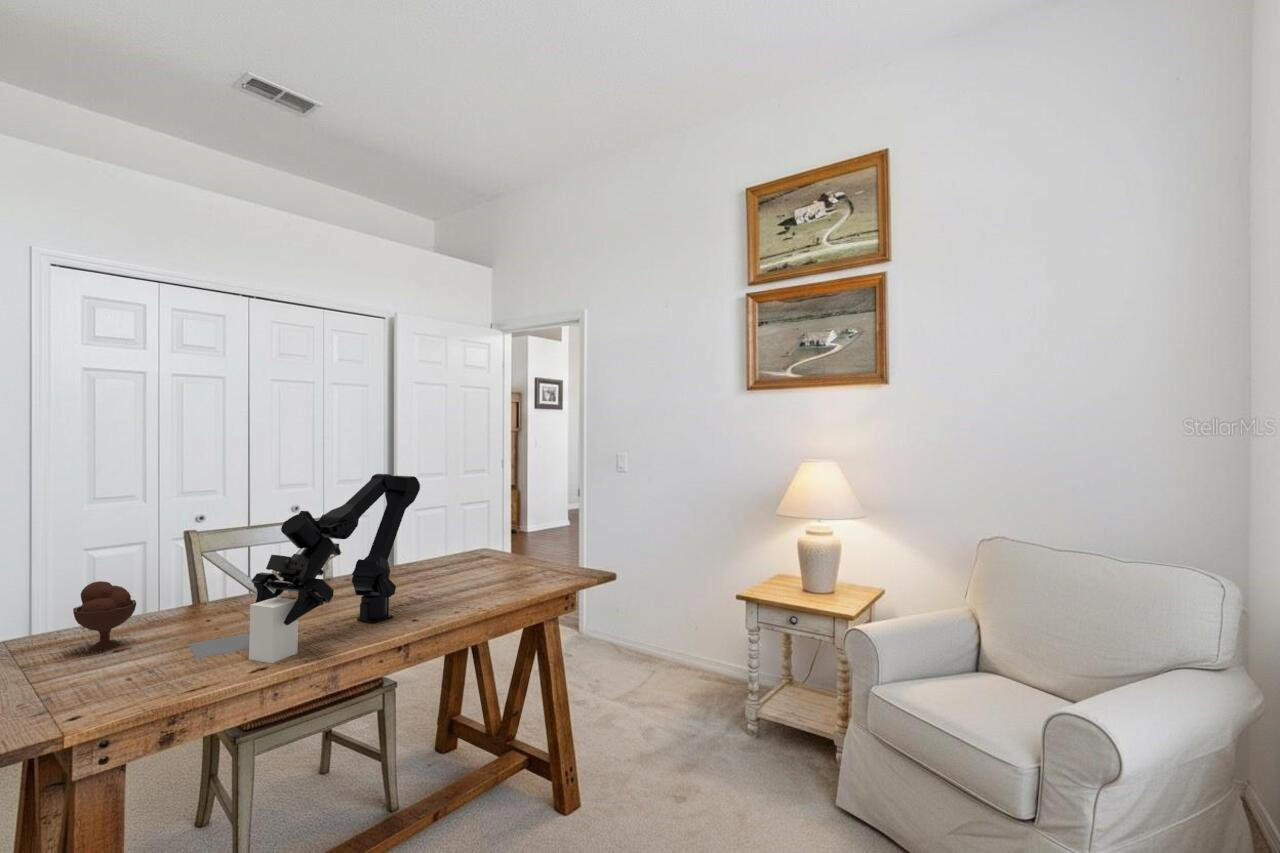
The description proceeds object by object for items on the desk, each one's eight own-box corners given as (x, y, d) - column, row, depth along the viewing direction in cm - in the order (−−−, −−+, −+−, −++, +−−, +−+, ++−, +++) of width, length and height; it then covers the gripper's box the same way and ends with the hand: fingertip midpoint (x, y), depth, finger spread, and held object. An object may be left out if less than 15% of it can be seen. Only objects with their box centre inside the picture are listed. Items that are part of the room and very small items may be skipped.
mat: (249, 634, 149) (249, 633, 149) (261, 648, 141) (261, 646, 141) (188, 645, 141) (188, 644, 141) (196, 660, 132) (196, 658, 132)
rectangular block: (275, 651, 139) (276, 597, 139) (297, 654, 137) (298, 600, 137) (248, 661, 133) (250, 604, 133) (271, 665, 131) (273, 607, 131)
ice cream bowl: (99, 658, 133) (101, 588, 133) (58, 654, 135) (59, 585, 135) (148, 642, 143) (149, 577, 143) (108, 638, 145) (110, 574, 145)
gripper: (259, 536, 142) (211, 597, 131) (324, 542, 136) (279, 606, 125) (288, 564, 149) (245, 624, 138) (351, 571, 143) (311, 634, 133)
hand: (268, 621), depth 133 cm, fingers open, 9 cm apart
